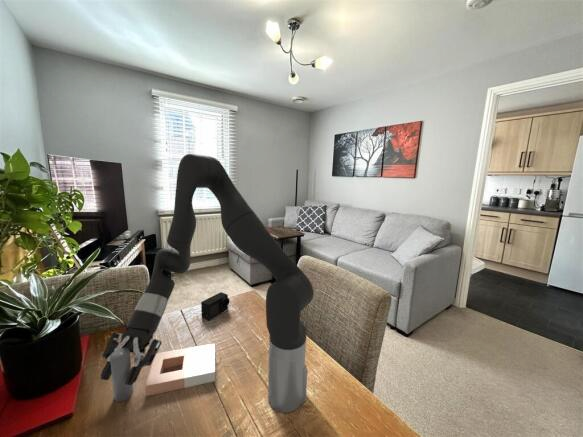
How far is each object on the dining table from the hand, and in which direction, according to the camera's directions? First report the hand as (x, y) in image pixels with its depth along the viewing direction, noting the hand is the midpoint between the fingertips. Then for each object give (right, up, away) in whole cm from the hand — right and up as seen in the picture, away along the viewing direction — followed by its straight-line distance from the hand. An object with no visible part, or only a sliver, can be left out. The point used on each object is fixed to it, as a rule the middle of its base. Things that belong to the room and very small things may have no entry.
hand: (116, 381), depth 60 cm
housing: (+12, -4, +11) cm, 17 cm away
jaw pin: (0, -5, +3) cm, 6 cm away
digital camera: (+12, +1, +40) cm, 42 cm away
